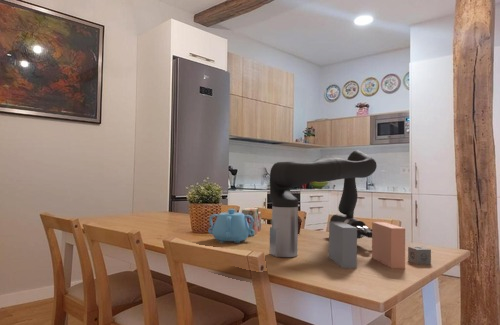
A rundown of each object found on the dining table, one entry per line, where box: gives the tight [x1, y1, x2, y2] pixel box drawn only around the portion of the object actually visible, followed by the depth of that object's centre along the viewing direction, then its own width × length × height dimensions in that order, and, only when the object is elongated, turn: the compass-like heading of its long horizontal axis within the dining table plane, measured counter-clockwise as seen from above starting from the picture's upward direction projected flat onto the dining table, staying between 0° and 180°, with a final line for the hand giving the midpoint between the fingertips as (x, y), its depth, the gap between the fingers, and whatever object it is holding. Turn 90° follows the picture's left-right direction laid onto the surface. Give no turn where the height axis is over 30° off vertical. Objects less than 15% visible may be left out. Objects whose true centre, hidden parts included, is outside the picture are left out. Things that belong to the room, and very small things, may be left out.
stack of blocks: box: [241, 207, 262, 237], centre depth 180 cm, size 21×6×12 cm, turn 170°
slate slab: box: [328, 221, 358, 269], centre depth 121 cm, size 15×4×12 cm, turn 4°
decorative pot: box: [208, 208, 254, 244], centre depth 157 cm, size 16×16×14 cm
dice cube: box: [407, 246, 432, 266], centre depth 123 cm, size 5×5×5 cm
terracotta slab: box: [371, 221, 406, 269], centre depth 122 cm, size 15×4×12 cm, turn 4°
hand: (370, 234), depth 137 cm, fingers closed
